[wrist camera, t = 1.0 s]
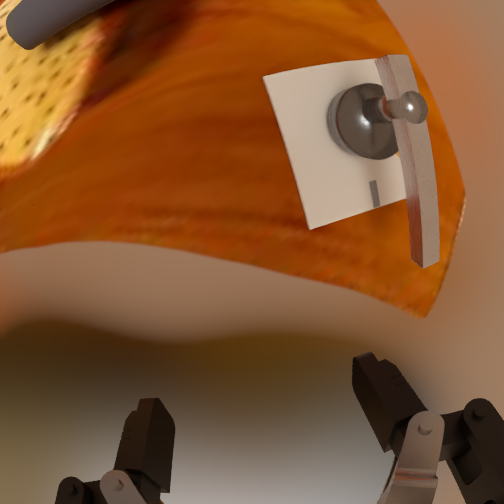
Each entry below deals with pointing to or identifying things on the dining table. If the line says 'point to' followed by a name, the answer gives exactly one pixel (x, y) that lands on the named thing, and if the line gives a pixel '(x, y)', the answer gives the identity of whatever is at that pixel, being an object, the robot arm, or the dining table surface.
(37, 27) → the bluetooth speaker
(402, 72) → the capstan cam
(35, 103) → the dining table surface
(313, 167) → the board
